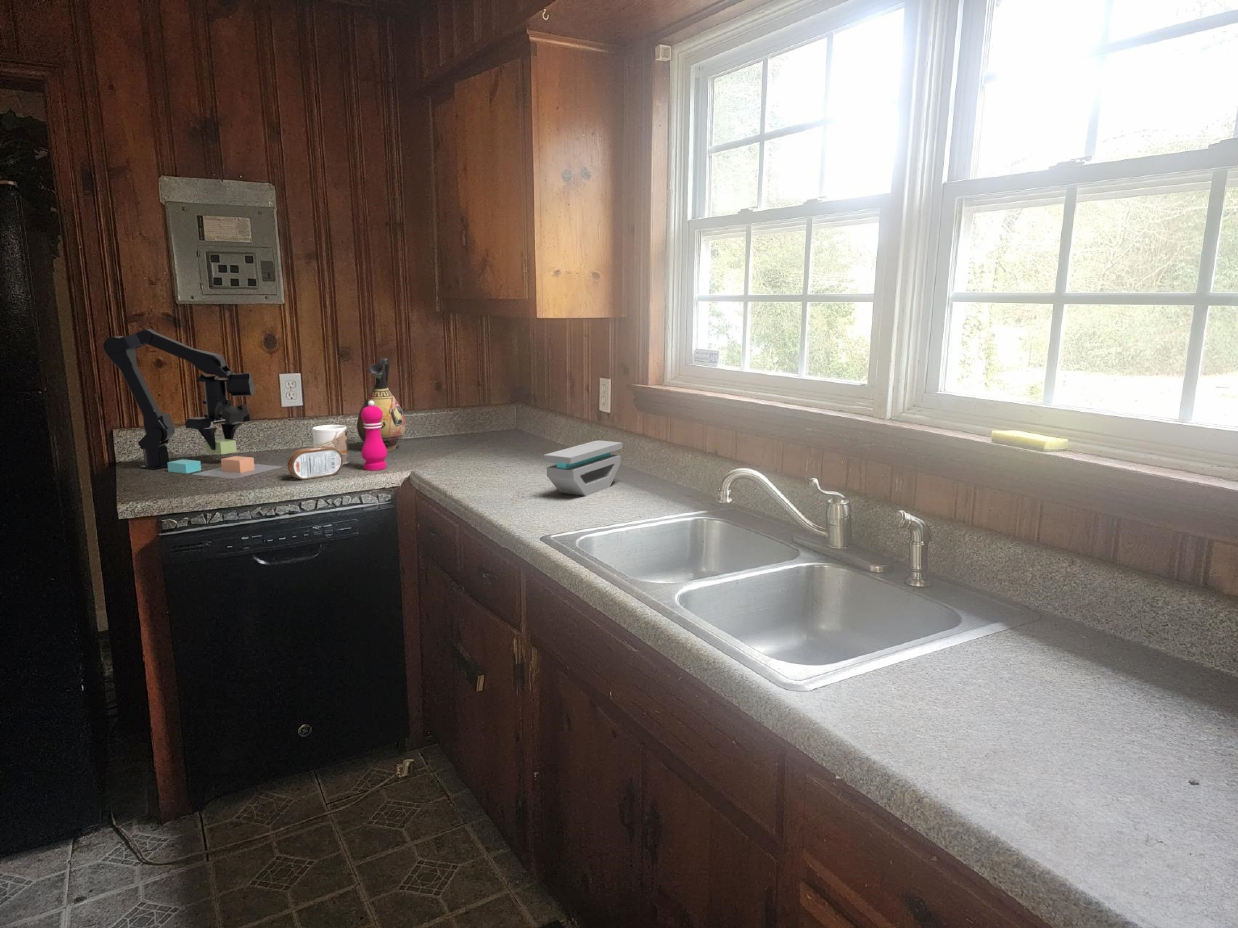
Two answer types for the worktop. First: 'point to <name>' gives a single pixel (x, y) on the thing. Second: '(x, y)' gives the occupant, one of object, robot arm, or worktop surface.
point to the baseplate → (233, 475)
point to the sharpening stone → (584, 467)
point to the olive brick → (222, 446)
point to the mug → (332, 438)
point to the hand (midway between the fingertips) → (221, 448)
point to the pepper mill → (373, 438)
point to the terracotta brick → (237, 464)
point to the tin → (315, 462)
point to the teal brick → (184, 466)
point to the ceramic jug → (384, 408)
